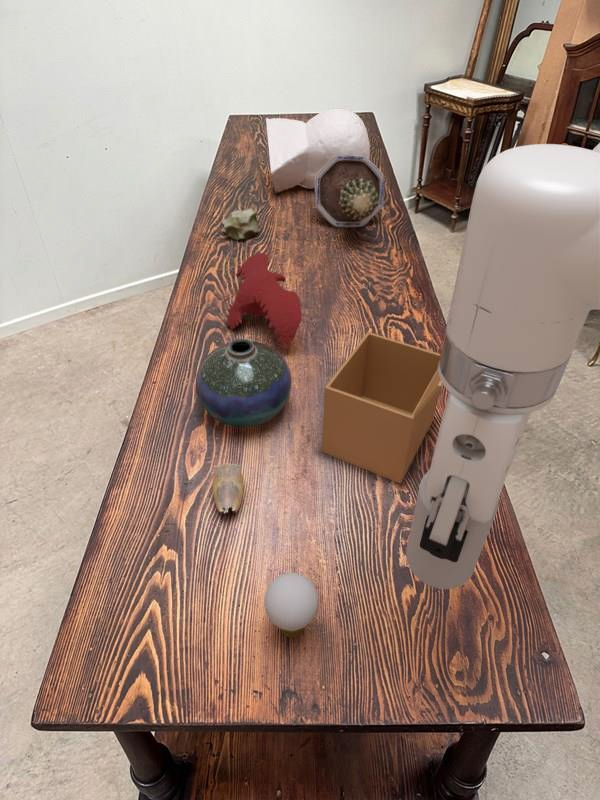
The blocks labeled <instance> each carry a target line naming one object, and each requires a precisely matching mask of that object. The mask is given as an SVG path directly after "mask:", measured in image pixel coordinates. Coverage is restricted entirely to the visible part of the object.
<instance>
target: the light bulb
mask: <svg viewBox="0 0 600 800" xmlns="http://www.w3.org/2000/svg"><path fill="white" fill-rule="evenodd" d="M263 600H264V601H263V603H264V605H263V606H264V610H265V613H266V615H267V617H268V619H269V620H270V622H271V623H272V624H273V625H275V626H276V627H277V628H279V629H280V630H281V633H282V634H283V635H284V636H285V637H287V638H291V639H293V638H297V637H298V636H300V635H301V634H302V632H303V630H304V628H305V627H307V626H308V625H309V624H310V623H311V622H312V621H313V620H314V618H315V616H316V615H317V612H318V609H319V596H318V591H317V589H316V586H315V585H314V584H313V582H312V581H311V580H310V579H309V578H308V577H306V576H305V575H303V574H300V573H298V572H286V573H282V574H280V575H279V576H277V577H275V578H274V579H272V581H271V582H270V584H269V585H268V587H267V588H266V591H265V594H264V599H263Z"/></svg>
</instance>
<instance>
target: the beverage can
mask: <svg viewBox="0 0 600 800" xmlns="http://www.w3.org/2000/svg"><path fill="white" fill-rule="evenodd" d="M429 471H430V468H429V469H428V471H427V472H426V473H425V474H424V475H423V477H422V478H421V480H420V483H419V487H418V492H417V496H416V501H415V504H414V505H415V506H414V511H413V515H412V521H411V524H410V530H409V535H408V539H407V544H406V547H405V559H406V562H407V565H408V567H409V570H410V571H411V572H412V574H413V575H414V576H415V577H416V578H417V579H418V580H420V581H421V582H422V583H424V584H425V585H427V586H429V587H432V588H435V589H439V590H454V589H457V588H459V587H461V586H463V585H465V584H467V582H468V581H469V580H470V579H471V578H472V576H473V575H474V572H475V568H476V566H477V564H478V561H479V558H480V556H481V553H482V551H483V548H484V546H485V544H486V541H487V538H488V535H489V533H490V530H491V528H492V525H493V523H494V520H495V517H496V515H497V512H498V509H499V506H500V497H499V498H498V501H497V504H496V506H495V509H494V512H493V515H492V517H491V519H490V520H489V521H487V522H485V523H480V522H477V521H474V520H472V519H471V518H470V517H469V520H468V523H467V525H466V528H465V529H466V530H467V531H468V533H467V536H466V539H465V542H464V545H463V547H462V550H461V553H460V556H459V559H458V561H457V562H452V561H449V560H447V559H440V558H438V557H435V556H433V555H431V554H430V553H429V552H428V551H426V550H424V549H422V548H421V547H420V541H421V537H422V533H423V529H424V525H425V521H426V518H427V516H428V515H430V512H431V509H432V506H433V503H434V501H432V502H431V503H430V502H429V501H428V499H427V497H426V487H427V481H428V476H429ZM446 489H447V488H446ZM446 489H444V490H445V491H446ZM464 498H466V494H465V495H464ZM462 514H463V512H461V511H459V512H458V515H457V517H456V520H455V521H456V522H459V523H460V520H461V517H462ZM458 526H459V525H458Z"/></svg>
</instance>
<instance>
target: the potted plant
mask: <svg viewBox="0 0 600 800" xmlns="http://www.w3.org/2000/svg"><path fill="white" fill-rule="evenodd" d="M314 195H315V197H314V205H315V208H316V210H317V211H318V212H319V214H320V215H321V216H323V218H324V219H325V220H326V221H327V222H328V223H329V224H330V225H331V226H333V227H334V228H346V229H347V228H360V227H362V228H363V227H365V226H366V225H367V224H368V223H369V222H370V221H371V219H372V218H373V217H374V216H376V215H377V214H378V213H379V211H380V210H382V208H383V207H384V200H385V199H384V198H385V176H384V174H383V172H382V170H380V169H379V168H378V167H377V165H375V164H374V163H373V162H372V161H371V160H370V158H369V159H367V158H366V157H365V156H363V155H345V154H344V155H336V156H334V157H333V158H332V159H331V160H330V161H329V162H328V163H327V164H326V165H325V166H324V167H323V168H322V169H321V170H320V171H319V172H318V174H317V175H316V176H315V189H314Z"/></svg>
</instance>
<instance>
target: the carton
mask: <svg viewBox="0 0 600 800" xmlns="http://www.w3.org/2000/svg"><path fill="white" fill-rule="evenodd" d="M440 354H441V353H439V352H437V351H433V350H429V349H425V348H422V347H420V346H416V345H413V344H409V343H406V342H403V341H399V340H397V339H393V338H390V337H386V336H383V335H380V334H378V333H377V334H376V333H373V332H370V331H366V333H365V334H364V336H362V338H361V340H360V341H359V342H358V344H357V345H356V346H355V347H354V349H353V350H352V351H351V352H350V354H349V355H348V356H347V358H346V359H345V360H344V361H343V363H342V364H341V366H340V367H339V368H338V369H337V371H336V372H335V373H334V375H333V376H332V377H331V379H330V380H329V381H328V383H326V385H325V386H324V391H323V392H324V393H323V394H324V395H323V396H324V397H323V415H322V416H323V420H322V440H321V441H322V443H321V453H323V454H325V455H328V456H331V457H333V458H335V459H338V460H340V461H343V462H346V463H348V464H351V465H353V466H356V467H358V468H360V469H363V470H366V471H367V472H371V473H373V474H375V475H378V476H380V477H383V478H385V479H388V480H390V481H392V482H395V483H398V484H402V482H403V480H404V478H405V476H406V474H407V472H408V470H409V468H410V467H411V464H412V462H413V461H414V459H415V457H416V455H417V452H418V451H419V449H420V447H421V446H422V443H423V441H424V439H425V437H426V435H427V433H428V432H429V429H430V427H431V425H432V424H433V421H434V418H435V415H436V411H437V410H436V409H437V405H438V402H439V398H440V393H441V389H442V386H441V387H440V388H439V389H438V391H437V392H436V393H435V394H434V395H433V397H432V398H431V399H430V400H429V401H428V402H427V404H426V405H425V406H424V407H423V408H422V410H421V411H420V412H419V413H418V414H417V416H415V415H414V413H415V411H416V409H417V407H418V406H419V404H420V402H421V400H422V398H423V397H424V395H425V393H426V391H427V389H428V388H429V386H430V384H431V382H432V380H433V379H434V377H435V375H436V373H437V371H438V364H439V359H440Z"/></svg>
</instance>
